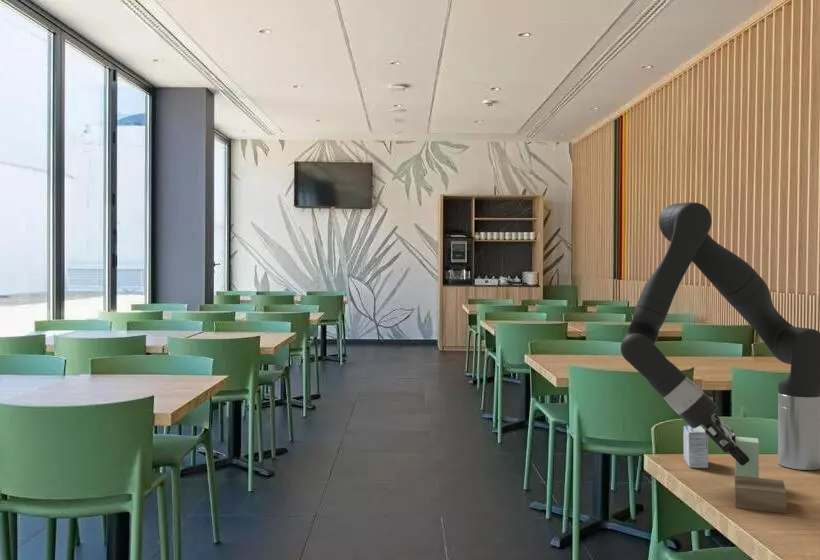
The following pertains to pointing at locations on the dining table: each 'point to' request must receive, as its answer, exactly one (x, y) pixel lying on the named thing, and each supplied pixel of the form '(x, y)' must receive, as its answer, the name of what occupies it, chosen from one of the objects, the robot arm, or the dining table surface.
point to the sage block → (752, 451)
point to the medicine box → (695, 447)
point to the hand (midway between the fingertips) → (745, 458)
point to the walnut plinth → (760, 494)
